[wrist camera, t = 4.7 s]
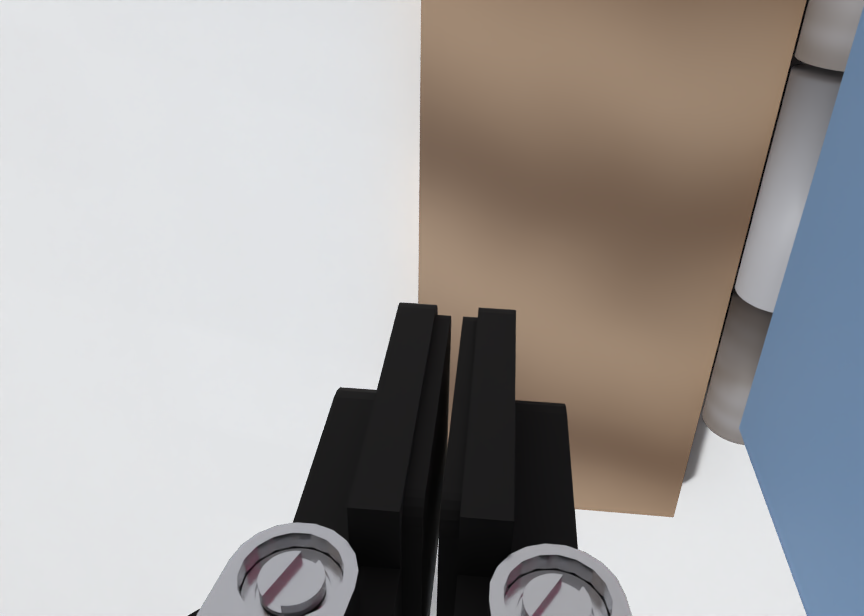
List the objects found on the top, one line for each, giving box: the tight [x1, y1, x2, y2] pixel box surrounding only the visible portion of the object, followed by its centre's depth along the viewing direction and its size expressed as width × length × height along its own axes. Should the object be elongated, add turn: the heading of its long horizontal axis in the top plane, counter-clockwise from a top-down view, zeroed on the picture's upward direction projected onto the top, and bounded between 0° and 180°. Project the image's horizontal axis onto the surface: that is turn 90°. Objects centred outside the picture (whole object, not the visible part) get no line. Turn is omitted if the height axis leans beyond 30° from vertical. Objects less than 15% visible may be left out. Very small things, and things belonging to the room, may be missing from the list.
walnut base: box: [418, 0, 864, 517], centre depth 18 cm, size 22×10×2 cm, turn 179°
